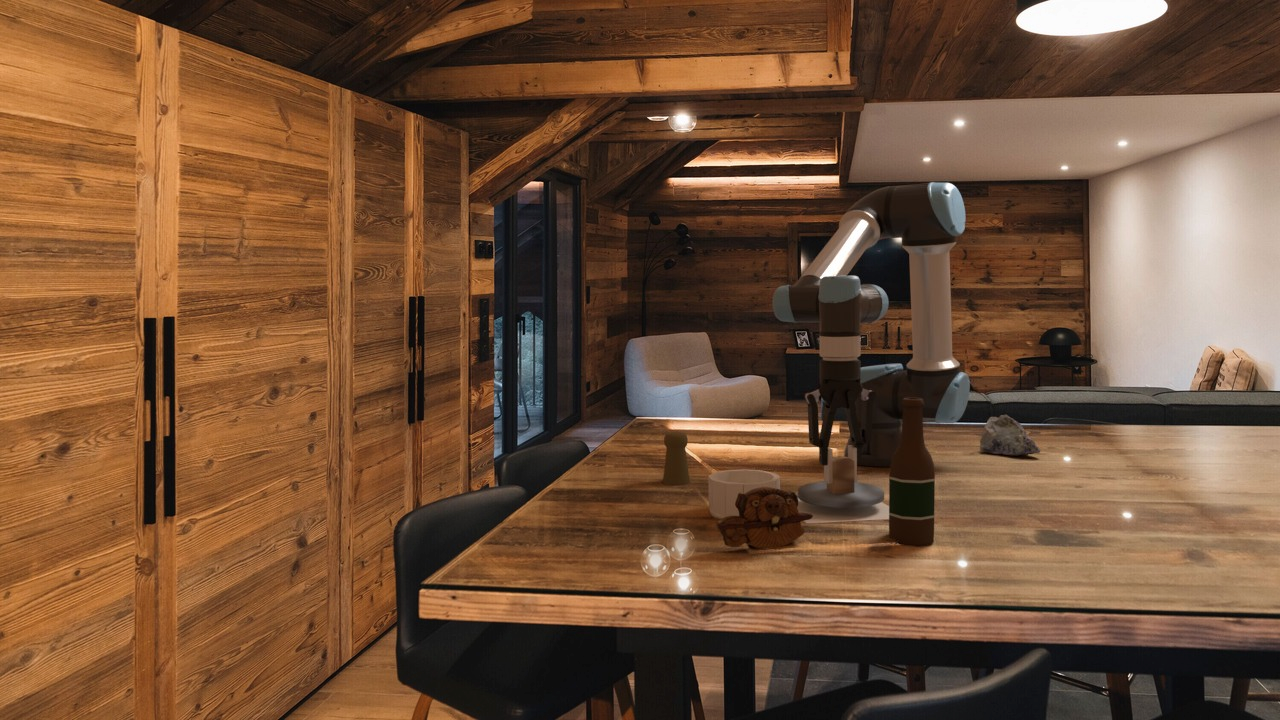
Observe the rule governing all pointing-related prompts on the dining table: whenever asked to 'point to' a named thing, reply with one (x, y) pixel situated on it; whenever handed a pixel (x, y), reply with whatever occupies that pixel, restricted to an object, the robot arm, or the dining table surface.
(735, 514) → the bowl
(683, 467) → the cork
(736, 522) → the wooden carving
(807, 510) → the mat
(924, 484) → the beer bottle
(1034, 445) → the mineral rock
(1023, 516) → the dining table surface
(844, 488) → the lid
